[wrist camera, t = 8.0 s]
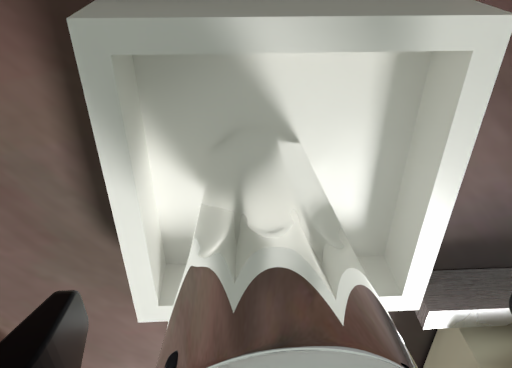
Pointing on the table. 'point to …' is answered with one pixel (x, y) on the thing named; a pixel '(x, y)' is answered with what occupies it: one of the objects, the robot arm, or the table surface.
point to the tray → (288, 118)
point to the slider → (471, 348)
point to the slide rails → (467, 299)
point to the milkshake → (274, 272)
